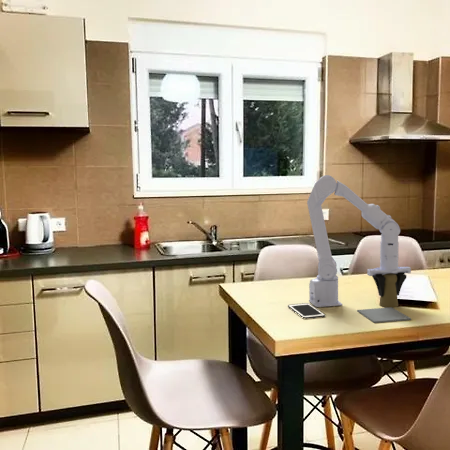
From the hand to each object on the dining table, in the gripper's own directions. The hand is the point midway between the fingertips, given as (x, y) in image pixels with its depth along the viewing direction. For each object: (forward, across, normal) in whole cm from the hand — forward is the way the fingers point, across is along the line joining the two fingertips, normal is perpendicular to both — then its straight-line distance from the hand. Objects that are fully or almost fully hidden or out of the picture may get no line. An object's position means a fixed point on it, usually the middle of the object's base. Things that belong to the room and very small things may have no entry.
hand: (388, 295), depth 160 cm
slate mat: (+3, -7, -10) cm, 13 cm away
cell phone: (+4, -29, 0) cm, 29 cm away
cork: (+4, 0, 0) cm, 4 cm away
